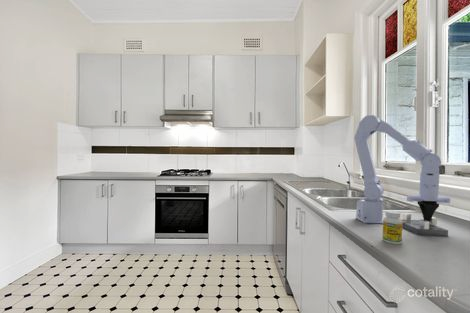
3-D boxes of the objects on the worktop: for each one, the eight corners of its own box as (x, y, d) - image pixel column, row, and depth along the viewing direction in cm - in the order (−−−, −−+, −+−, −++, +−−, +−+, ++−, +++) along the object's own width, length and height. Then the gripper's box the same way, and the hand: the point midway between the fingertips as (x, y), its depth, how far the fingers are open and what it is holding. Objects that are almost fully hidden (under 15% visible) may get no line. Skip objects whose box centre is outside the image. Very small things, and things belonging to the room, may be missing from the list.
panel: (417, 234, 90) (417, 221, 90) (395, 224, 103) (396, 212, 103) (447, 236, 89) (448, 222, 89) (422, 225, 102) (422, 213, 102)
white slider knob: (432, 224, 95) (432, 218, 95) (427, 222, 97) (427, 216, 97) (436, 225, 95) (436, 218, 95) (431, 223, 97) (431, 216, 97)
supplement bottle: (398, 240, 84) (400, 211, 84) (404, 245, 79) (405, 214, 78) (380, 237, 85) (381, 209, 85) (384, 243, 80) (385, 213, 80)
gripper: (416, 185, 92) (414, 223, 92) (457, 187, 91) (455, 225, 92) (404, 183, 99) (402, 217, 99) (442, 184, 98) (440, 219, 99)
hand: (427, 221), depth 96 cm, fingers closed
